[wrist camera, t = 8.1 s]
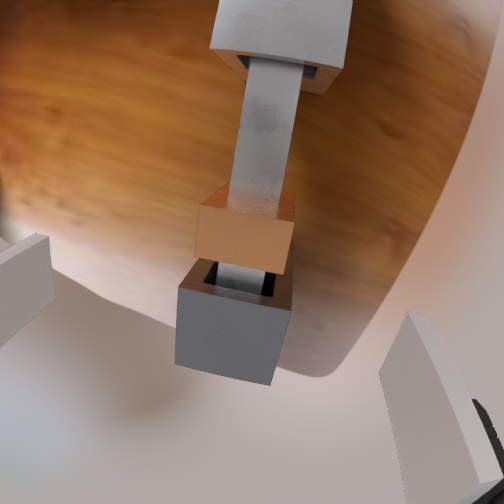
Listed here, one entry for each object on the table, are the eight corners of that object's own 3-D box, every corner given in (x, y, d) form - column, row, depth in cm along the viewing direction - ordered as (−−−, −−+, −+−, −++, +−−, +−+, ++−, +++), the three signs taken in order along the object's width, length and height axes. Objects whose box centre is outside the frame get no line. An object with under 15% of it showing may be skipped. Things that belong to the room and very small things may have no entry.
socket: (221, 227, 31) (178, 286, 19) (293, 242, 30) (291, 311, 19) (213, 287, 33) (174, 364, 22) (279, 300, 33) (270, 385, 21)
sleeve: (260, -4, 22) (238, -73, 11) (336, 8, 22) (358, -57, 11) (244, 81, 26) (209, 48, 14) (322, 94, 25) (342, 68, 14)
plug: (251, 48, 20) (231, 12, 13) (319, 59, 20) (330, 26, 12) (217, 269, 27) (188, 322, 20) (275, 282, 27) (267, 339, 19)
